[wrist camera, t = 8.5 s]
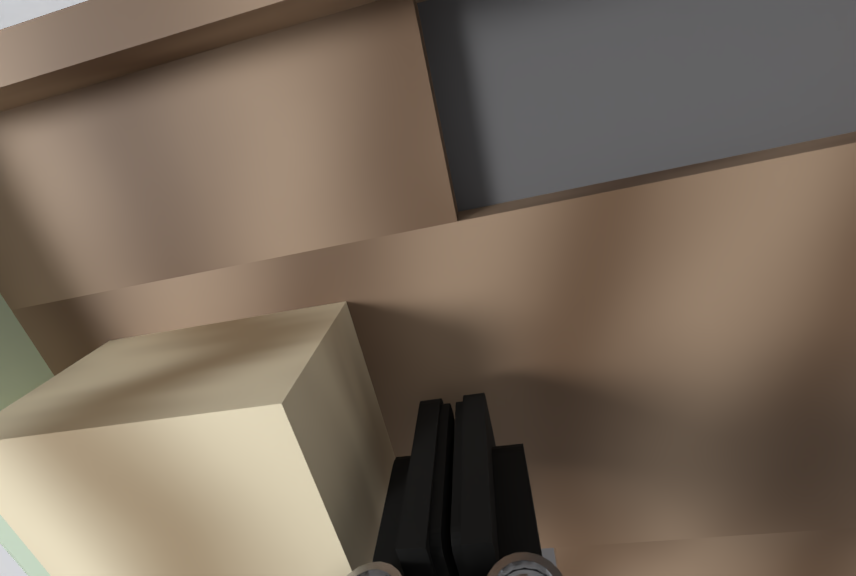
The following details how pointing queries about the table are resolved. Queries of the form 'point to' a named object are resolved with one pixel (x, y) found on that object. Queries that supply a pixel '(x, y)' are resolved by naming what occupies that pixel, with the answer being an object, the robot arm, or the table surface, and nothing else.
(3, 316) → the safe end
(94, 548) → the block
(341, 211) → the box
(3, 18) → the table surface
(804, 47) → the trap pits
